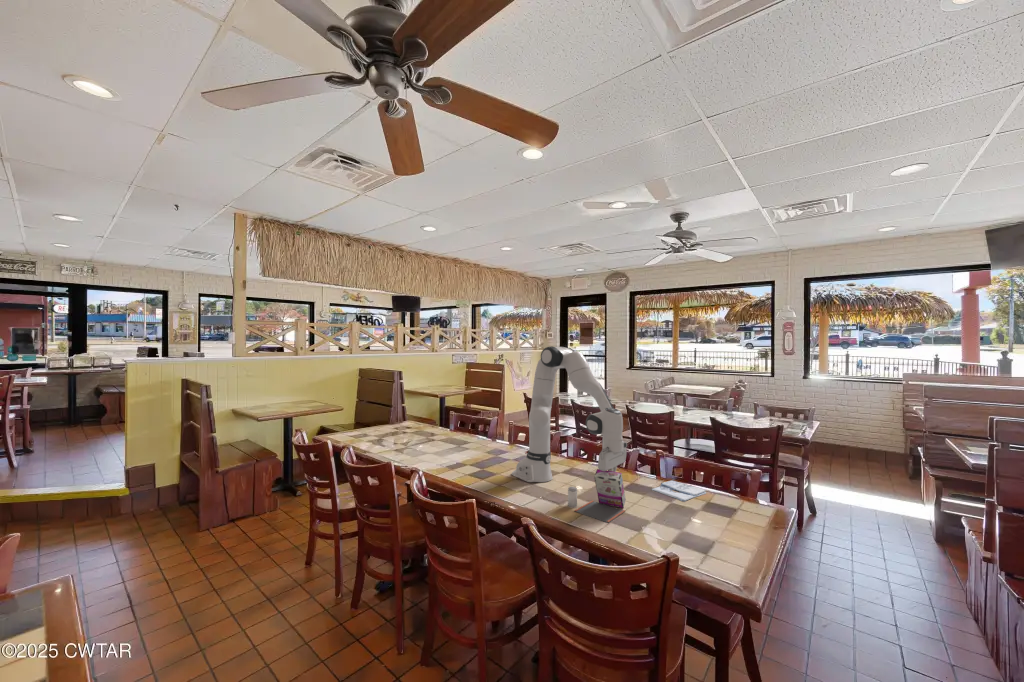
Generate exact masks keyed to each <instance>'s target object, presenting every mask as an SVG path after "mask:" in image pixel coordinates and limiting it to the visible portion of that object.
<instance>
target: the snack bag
mask: <svg viewBox="0 0 1024 682" xmlns="http://www.w3.org/2000/svg"><path fill="white" fill-rule="evenodd" d="M650 491H653V492H656V493H658V494H659V493H660V494H662V495H665V496H667V497H669V498H670V497H671V498H674V499H676V500H677V501H678V500H679V501H680V502H684V503H685V502H686V501H689V500H691V499H695V498H698V497H701V496H704V495H706V493H707V494H708V492H706V491H707V489H703V488H701V487H697V486H693V485H690V484H686V483H683V482H678V481H675V480H668V481H665V482H661V483H660V485H659V486H657V487H653V488H651V489H650Z"/></svg>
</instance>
